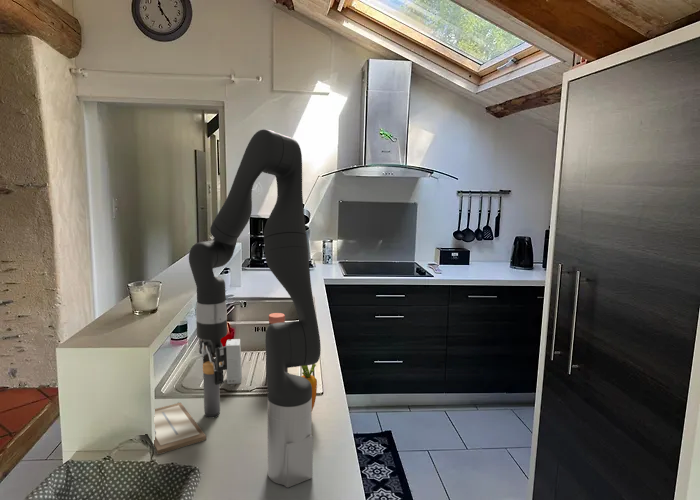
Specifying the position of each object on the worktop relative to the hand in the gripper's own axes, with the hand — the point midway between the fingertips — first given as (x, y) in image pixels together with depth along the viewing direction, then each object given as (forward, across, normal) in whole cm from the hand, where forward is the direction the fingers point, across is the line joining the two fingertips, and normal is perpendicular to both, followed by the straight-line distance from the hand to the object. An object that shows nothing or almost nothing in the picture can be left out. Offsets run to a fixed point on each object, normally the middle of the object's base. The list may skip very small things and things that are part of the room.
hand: (213, 377), depth 126 cm
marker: (+10, 0, +1) cm, 10 cm away
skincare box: (+10, +17, -12) cm, 23 cm away
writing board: (+10, -2, +12) cm, 15 cm away
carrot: (+10, -15, -20) cm, 27 cm away
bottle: (+10, +12, -24) cm, 29 cm away
